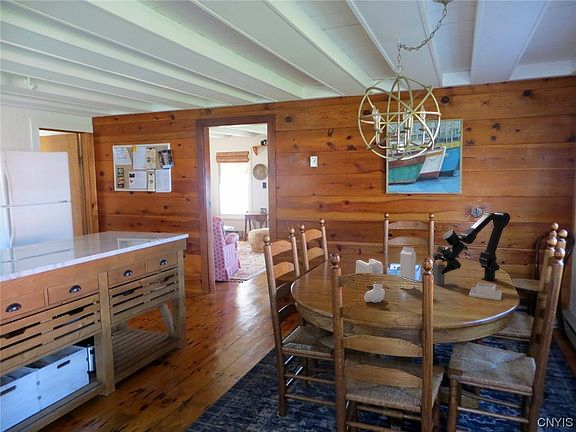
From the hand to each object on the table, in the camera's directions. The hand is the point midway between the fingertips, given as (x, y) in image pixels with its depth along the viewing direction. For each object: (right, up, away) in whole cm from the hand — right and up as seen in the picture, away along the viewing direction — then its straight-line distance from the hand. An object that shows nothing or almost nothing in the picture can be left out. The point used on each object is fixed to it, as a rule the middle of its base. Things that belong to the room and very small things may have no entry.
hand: (436, 271), depth 224 cm
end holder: (+18, -9, -19) cm, 27 cm away
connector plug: (+1, -7, +1) cm, 7 cm away
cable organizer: (-36, -7, +7) cm, 37 cm away
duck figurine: (-40, -10, -29) cm, 50 cm away
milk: (-18, -8, -7) cm, 21 cm away
